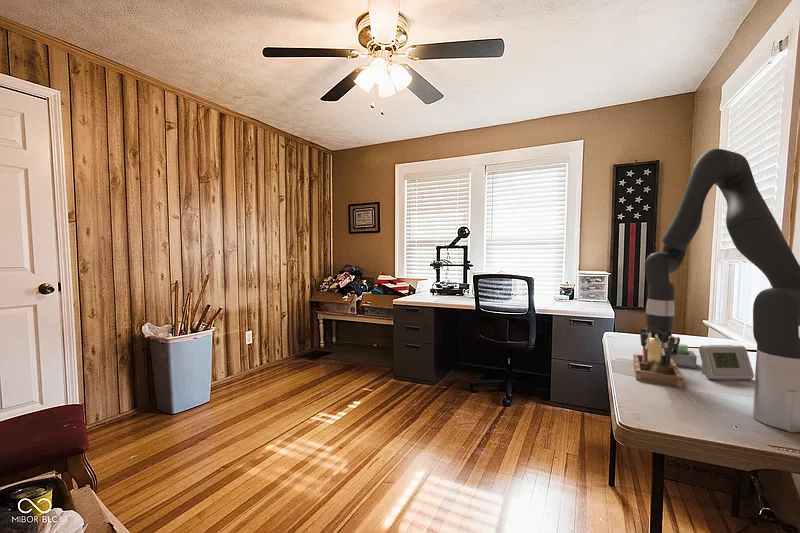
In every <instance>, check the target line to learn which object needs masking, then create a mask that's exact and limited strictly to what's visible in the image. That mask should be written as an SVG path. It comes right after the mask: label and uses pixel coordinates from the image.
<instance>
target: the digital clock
mask: <svg viewBox="0 0 800 533" xmlns="http://www.w3.org/2000/svg"><path fill="white" fill-rule="evenodd" d="M698 352H699V356H700V359H701V374H702V375H703V376H705V378H706V379H708V380H716V381H744V380H753V379H755V373H754V371H753V367H752V363H751V361H750V356H749V354H748V350H747V348H746V346H744V345H733V344H718V345H717V344H710V345H700V346H698Z"/></svg>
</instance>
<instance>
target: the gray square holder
mask: <svg viewBox="0 0 800 533" xmlns="http://www.w3.org/2000/svg"><path fill="white" fill-rule="evenodd" d="M672 351H673V349H672ZM670 359H673V361H674V362H675V364H676V366H677V367H683V368H690V369H697V355H696V354H695V353H694V351H691V350H688V354H681V353H677V355H672V356H671V357H670Z"/></svg>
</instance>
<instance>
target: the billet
mask: <svg viewBox="0 0 800 533" xmlns="http://www.w3.org/2000/svg"><path fill="white" fill-rule="evenodd" d="M661 341H662V340H661ZM662 344H663V345H668V342H662ZM665 351H666V352H667V348H665ZM661 359H662V352H661V348H659V340H657V339H656V338H651V337H648V358H647V370H648V371H650V372H655V373H661V374H668V367H663V366H661Z"/></svg>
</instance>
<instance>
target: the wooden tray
mask: <svg viewBox="0 0 800 533" xmlns="http://www.w3.org/2000/svg"><path fill="white" fill-rule="evenodd" d="M632 356H633V357H632V363H633V370H634V375H635V377H634V378H635V380H637V381H642V382H646V383H647V382H648V383H653V384H654V383H655V384H660V385H666V386H670V387H671V386H672V387H676V388H677V387H678V388H683V383H684V382H683V381H684V380H683V379H684V377H683V376H682V374H681V372H680V370H679V368H678V366H676V364H675V362H674V361H673V359H670V366H669V367H668V374H661V373H655V372H650V371H648V370H647V363H644V362H642V356H643V354H639V353H638V354H636V353H633V355H632Z"/></svg>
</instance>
